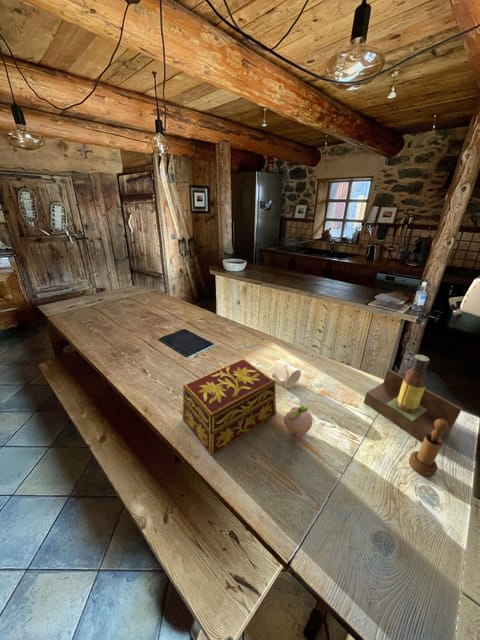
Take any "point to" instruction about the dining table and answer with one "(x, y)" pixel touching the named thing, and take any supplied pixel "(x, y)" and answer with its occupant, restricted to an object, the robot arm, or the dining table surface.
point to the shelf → (411, 422)
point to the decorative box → (228, 404)
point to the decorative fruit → (298, 420)
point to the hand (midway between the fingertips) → (472, 333)
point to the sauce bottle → (413, 385)
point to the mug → (284, 374)
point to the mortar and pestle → (429, 451)
